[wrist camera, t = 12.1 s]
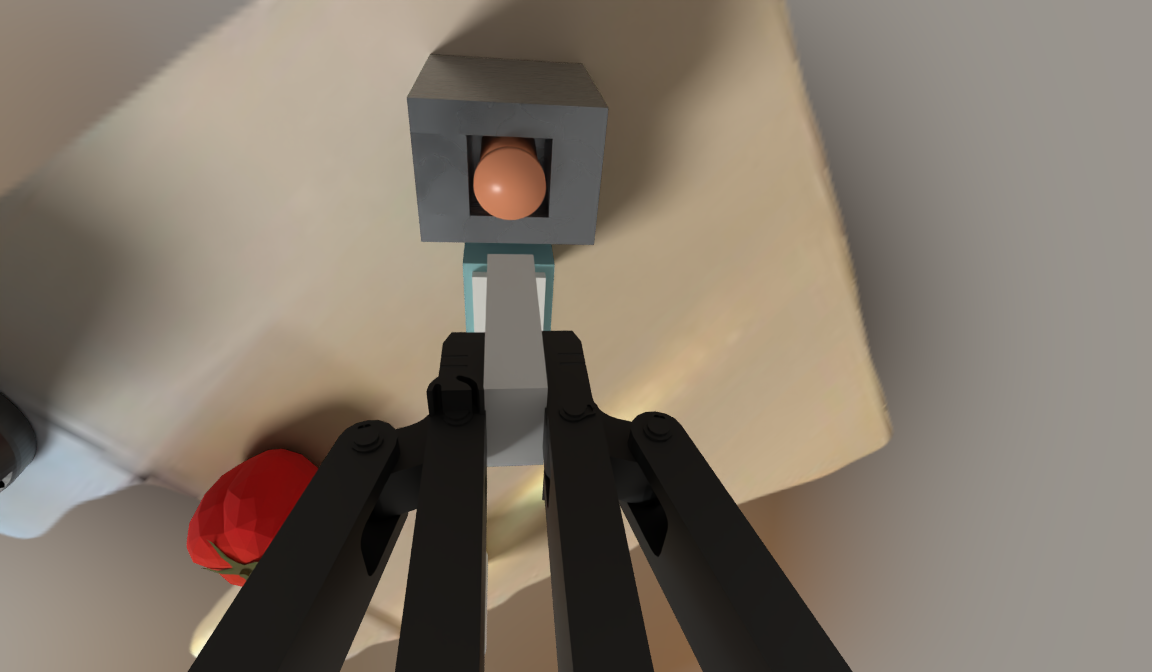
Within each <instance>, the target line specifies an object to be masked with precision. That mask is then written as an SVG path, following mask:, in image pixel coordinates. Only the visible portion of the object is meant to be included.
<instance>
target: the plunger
mask: <svg viewBox="0 0 1152 672" xmlns="http://www.w3.org/2000/svg"><path fill="white" fill-rule="evenodd" d="M473 186H474V192H475V196H476V198H477V200H478V202H479V204H480V205H481V206H482V207H483V208H484V210H486V211H487V212H488V213H490V214H491V215H493V216H495V217H497V218H500V219H505V220H517V219H521V218H524V217H527V216H528V215H530V214H532V213H533V212H534V211H535V210H536V209H537V208H538V207H539V206H540V205H541V203H542V201H543V199H544V196H545V192H546V181H545V175H544V171H543V169H542V166H541V165H540V163H539V161H538V158H537V151H536V145H535V140H534V138H526V137H503V136H483V138H482V142H481V152H480V162H479V163H478V165H477V167H476V170H475V174H474V185H473Z"/></svg>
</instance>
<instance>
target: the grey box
mask: <svg viewBox="0 0 1152 672" xmlns="http://www.w3.org/2000/svg"><path fill="white" fill-rule="evenodd" d="M407 104H408V114H409V124H410V134H411V144H412V154H413V164H414V174H415V184H416V194H417V204H418V214H419V224H420V234H421V242H467V243H522V244H577V245H594V239H595V230H596V221H597V211H598V202H599V192H600V183H601V174H602V164H603V155H604V145H605V136H606V127H607V117H608V106H607V105H606V103H605V101H604V100H603V98H602V96H601V94H600V93H599V91H598V89H597V88H596V86H595V84H594V82H593V81H592V79H591V77H590V76H589V74H588V72H587V71H586V69H585V67H584V65H583V64H577V63H561V62H545V61H529V60H513V59H497V58H481V57H465V56H449V55H433V54H430V55H429V57H428V59H427V61H426V63H425V65H424V66H423V68H422V70H421V72H420V74H419V76H418V78H417V79H416V81H415V83H414V85H413V87H412V89H411V91H410V93H409V94H408V96H407ZM483 136H503V137H526V138H534V140H535V145H536V151H537V158H538V161H539V163H540V165H541V166H542V169H543V171H544V175H545V181H546V192H545V196H544V199H543V201H542V203H541V205H540V206H539V207H538V208H537V209H536V210H535V211H534V212H533V213H532V214H530V215H528V216H527V217H524V218H521V219H517V220H505V219H500V218H497V217H495V216H493V215H491V214H490V213H488V212H487V211H486V210H484V208H483V207H482V206H481V205H480V204H479V202H478V200H477V198H476V196H475V192H474V186H473V185H474V174H475V170H476V167H477V165H478V163H479V162H480V152H481V142H482V138H483Z"/></svg>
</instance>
